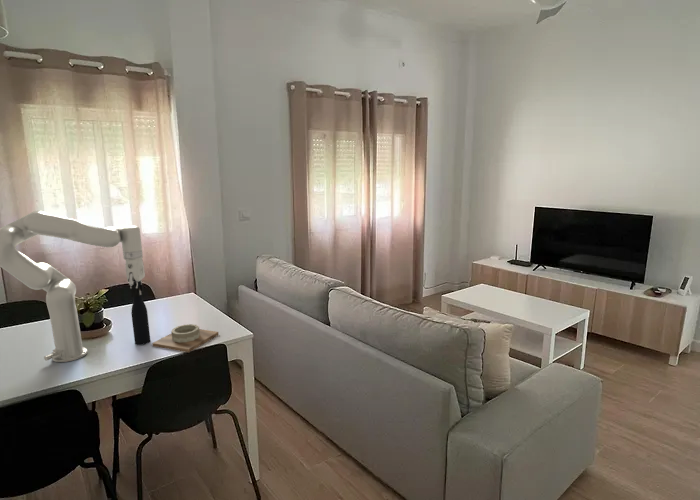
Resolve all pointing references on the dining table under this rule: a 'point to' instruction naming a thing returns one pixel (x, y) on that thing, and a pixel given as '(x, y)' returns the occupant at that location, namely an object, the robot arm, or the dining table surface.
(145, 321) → the wine bottle
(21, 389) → the dining table surface
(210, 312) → the dining table surface
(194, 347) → the bottle stand
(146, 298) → the dining table surface
